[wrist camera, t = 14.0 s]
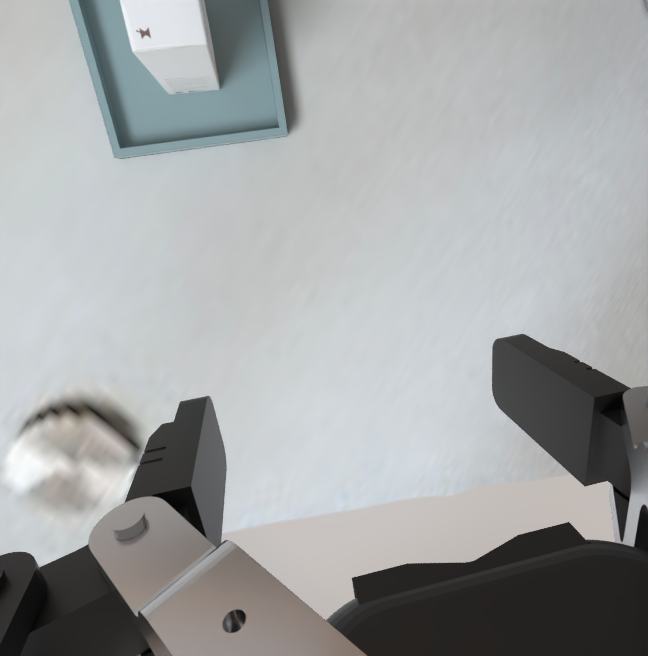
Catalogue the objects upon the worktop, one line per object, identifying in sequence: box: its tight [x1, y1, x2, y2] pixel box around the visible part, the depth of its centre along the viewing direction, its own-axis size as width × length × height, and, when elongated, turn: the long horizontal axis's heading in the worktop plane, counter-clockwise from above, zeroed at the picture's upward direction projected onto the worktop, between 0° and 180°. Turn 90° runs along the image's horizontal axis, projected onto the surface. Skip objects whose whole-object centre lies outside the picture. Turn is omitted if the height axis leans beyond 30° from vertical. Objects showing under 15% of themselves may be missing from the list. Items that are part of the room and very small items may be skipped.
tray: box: [69, 0, 288, 159], centre depth 33 cm, size 14×14×2 cm
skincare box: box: [120, 0, 220, 95], centre depth 27 cm, size 6×4×12 cm
